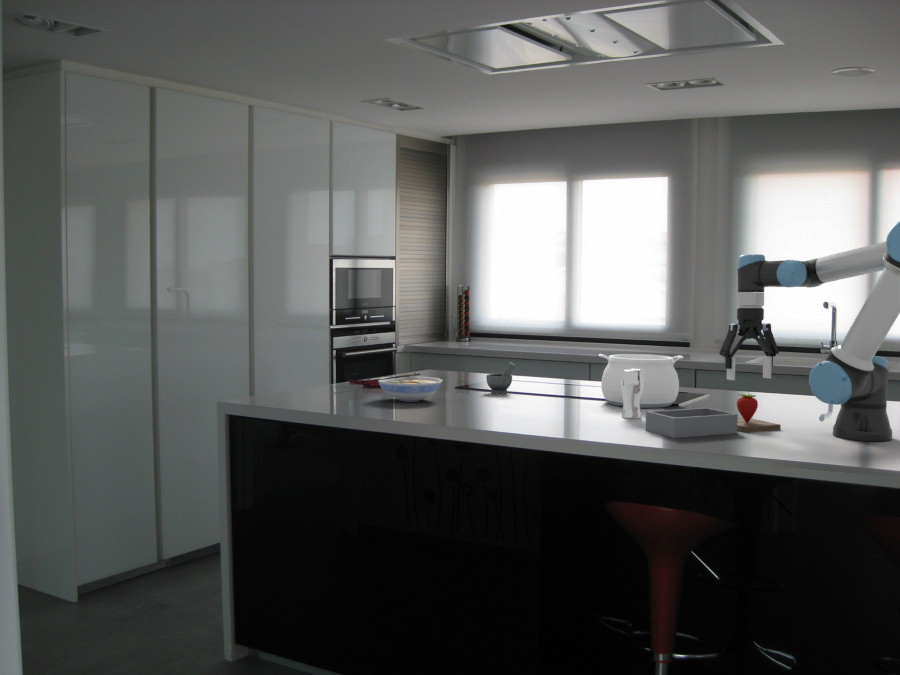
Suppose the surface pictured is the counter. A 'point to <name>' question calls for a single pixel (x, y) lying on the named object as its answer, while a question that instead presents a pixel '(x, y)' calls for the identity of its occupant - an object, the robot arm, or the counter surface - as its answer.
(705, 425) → the crate
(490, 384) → the mortar and pestle
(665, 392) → the pot
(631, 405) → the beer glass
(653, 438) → the counter surface
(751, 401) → the strawberry
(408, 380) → the ramen bowl
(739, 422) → the display board
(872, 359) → the robot arm
